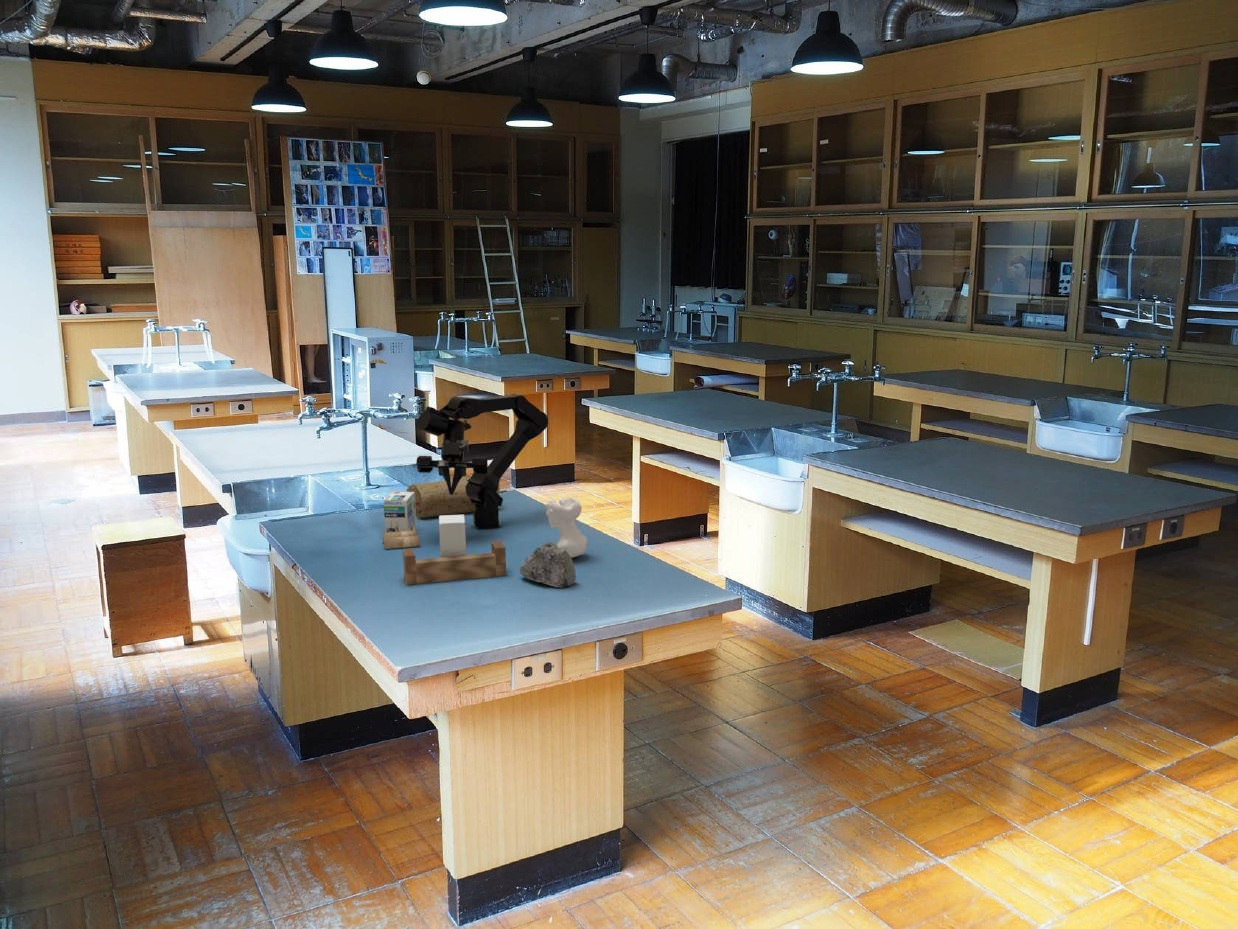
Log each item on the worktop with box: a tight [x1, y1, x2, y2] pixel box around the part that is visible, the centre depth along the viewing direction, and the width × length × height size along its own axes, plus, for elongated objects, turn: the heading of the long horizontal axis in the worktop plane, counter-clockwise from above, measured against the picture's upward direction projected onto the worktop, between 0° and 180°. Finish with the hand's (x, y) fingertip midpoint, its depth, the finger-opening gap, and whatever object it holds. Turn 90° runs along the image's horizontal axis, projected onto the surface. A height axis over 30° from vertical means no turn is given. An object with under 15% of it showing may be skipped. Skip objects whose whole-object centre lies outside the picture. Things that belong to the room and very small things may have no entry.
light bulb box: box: [383, 491, 418, 533], centre depth 286 cm, size 11×7×11 cm, turn 179°
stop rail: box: [402, 540, 507, 586], centre depth 249 cm, size 24×6×7 cm, turn 107°
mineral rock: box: [519, 541, 577, 589], centre depth 245 cm, size 13×11×10 cm
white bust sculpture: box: [545, 497, 588, 558], centre depth 263 cm, size 10×11×15 cm
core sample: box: [406, 477, 501, 519], centre depth 310 cm, size 14×26×10 cm, turn 119°
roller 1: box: [382, 529, 418, 544], centre depth 279 cm, size 9×3×3 cm
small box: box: [438, 514, 467, 558], centre depth 253 cm, size 8×6×13 cm
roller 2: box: [383, 534, 421, 550], centre depth 274 cm, size 9×3×3 cm
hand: (451, 494), depth 275 cm, fingers closed
